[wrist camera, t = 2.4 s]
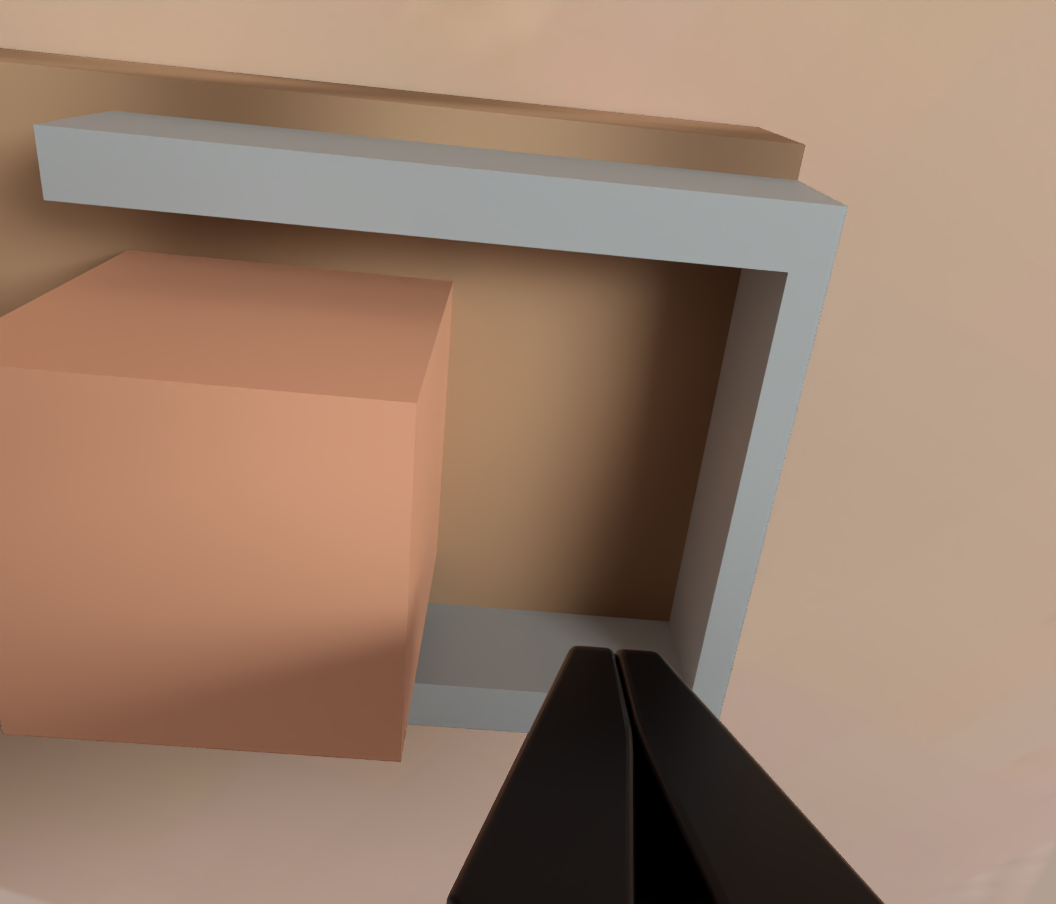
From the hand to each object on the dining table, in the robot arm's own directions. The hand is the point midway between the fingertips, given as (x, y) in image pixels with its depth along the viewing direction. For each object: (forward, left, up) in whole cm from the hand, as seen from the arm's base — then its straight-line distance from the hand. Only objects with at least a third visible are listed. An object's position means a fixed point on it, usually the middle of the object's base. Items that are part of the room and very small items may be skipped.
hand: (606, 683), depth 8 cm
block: (+1, +4, -5) cm, 7 cm away
